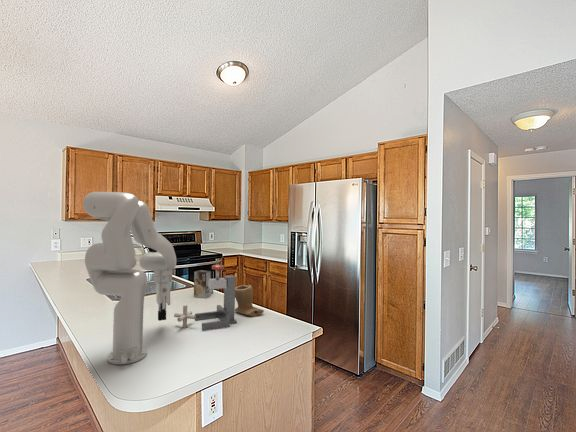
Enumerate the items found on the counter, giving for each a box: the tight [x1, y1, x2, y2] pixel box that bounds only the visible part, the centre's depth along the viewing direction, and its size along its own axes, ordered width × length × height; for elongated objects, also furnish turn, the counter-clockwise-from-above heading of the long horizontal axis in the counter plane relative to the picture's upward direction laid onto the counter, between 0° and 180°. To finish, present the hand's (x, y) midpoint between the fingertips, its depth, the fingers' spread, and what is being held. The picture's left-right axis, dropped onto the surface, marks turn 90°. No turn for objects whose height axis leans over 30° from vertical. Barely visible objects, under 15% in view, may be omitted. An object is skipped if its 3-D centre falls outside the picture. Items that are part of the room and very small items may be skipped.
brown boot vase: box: [235, 284, 265, 317], centre depth 164 cm, size 15×12×15 cm
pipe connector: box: [173, 304, 196, 329], centre depth 142 cm, size 10×10×10 cm
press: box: [194, 274, 238, 332], centre depth 149 cm, size 16×17×22 cm
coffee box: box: [193, 269, 212, 299], centre depth 196 cm, size 9×6×16 cm
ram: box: [208, 264, 226, 295], centre depth 149 cm, size 6×7×13 cm
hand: (161, 319), depth 137 cm, fingers closed
